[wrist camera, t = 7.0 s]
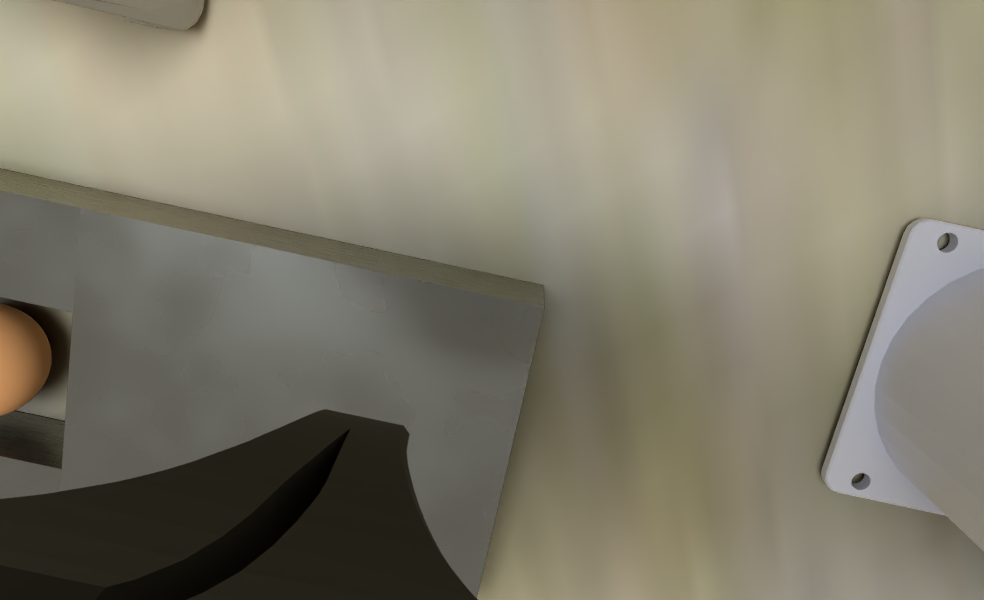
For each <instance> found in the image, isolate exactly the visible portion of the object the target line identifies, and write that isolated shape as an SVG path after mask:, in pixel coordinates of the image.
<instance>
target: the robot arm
mask: <svg viewBox="0 0 984 600" xmlns="http://www.w3.org/2000/svg"><path fill="white" fill-rule="evenodd" d="M945 233H948V234H949V236H950V242H949V244H948V245H947V247H946V248H944V249H942V250H939V248H938V247H937V242H938V239H939V238H940V236H941V235H943V234H945ZM409 435H410V434H409V433H408V431H407V429H406V428H405V426H404V425H399V424H394V423H389V422H385V421H380V420H375V419H370V418H365V417H361V416H356V415H351V414H346V413H341V412H337V411H332V410H327V409H324V410H320V411H317V412H314V413H312V414H309V415H307V416H305V417H302V418H300V419H298V420H296V421H293V422H291V423H289V424H287V425H284V426H282V427H280V428H277V429H275V430H273V431H271V432H268V433H266V434H264V435H261V436H259V437H257V438H254V439H252V440H250V441H247V442H245V443H242V444H239V445H236V446H234V447H231V448H228V449H226V450H223V451H220V452H217V453H215V454H212V455H209V456H207V457H204V458H201V459H198V460H196V461H193V462H189V463H186V464H183V465H180V466H176V467H173V468H170V469H166V470H163V471H159V472H155V473H151V474H147V475H143V476H139V477H135V478H131V479H127V480H122V481H117V482H112V483H106V484H101V485H95V486H89V487H83V488H77V489H71V490H65V491H60V492H54V493H48V494H40V495H32V496H23V497H13V498H4V499H0V600H478V599H477V598H476V597H475V596H474V595H473V594H472V593H471V592H470V591H469V590H468V588H467V587H466V586H465V585H464V584H463V582H462V581H461V580H460V578H459V577H458V576H457V575H456V573H455V572H454V571H453V570H452V568H451V567H450V565H449V564H448V562H447V561H446V559H445V558H444V556H443V555H442V553H441V551H440V549H439V547H438V546H437V544H436V542H435V540H434V538H433V536H432V534H431V532H430V530H429V528H428V526H427V524H426V521H425V519H424V516H423V514H422V511H421V509H420V506H419V503H418V501H417V497H416V494H415V491H414V487H413V483H412V480H411V476H410V472H409V466H408V460H407V446H408V441H409ZM859 473H865V474H864V478H863V480H862V481H860V482H859V483H852V479H853V477H854V476H855V475H857V474H859ZM821 476H822V479H823V481H824V482H825V484H826V485H827V486H828V487H829V488H830V489H831V490H832V491H835V492H837V493H841V494H846V495H851V496H855V497H860V498H865V499H869V500H874V501H879V502H883V503H888V504H893V505H897V506H902V507H907V508H911V509H916V510H921V511H925V512H930V513H935V514H939V515H944V516H947V517H948V518H949V519H950V520H951V521H952V522H953V523H954V524H955V525H956V526H957V527H958V528H959V529H960V530H962V531H963V532H964V533H965V534H966V535H967V536H968V537H969V538H970V539H971V540H972V541H973V542H974V543H975V544H976V545H977V546H978V547H979V548H980V549H981V550H982V551H983V552H984V230H981V229H976V228H972V227H967V226H962V225H958V224H953V223H948V222H944V221H939V220H934V219H930V218H920V219H917V220H915V221H913V222H912V223H911V224H909V225H908V226H907V228H906V230H905V231H904V233H903V236H902V239H901V242H900V245H899V248H898V251H897V254H896V256H895V259H894V262H893V265H892V268H891V271H890V274H889V277H888V280H887V282H886V285H885V288H884V291H883V294H882V297H881V300H880V303H879V305H878V308H877V311H876V314H875V317H874V320H873V323H872V326H871V329H870V331H869V334H868V337H867V340H866V343H865V346H864V349H863V352H862V354H861V357H860V360H859V363H858V366H857V369H856V372H855V375H854V378H853V380H852V383H851V386H850V389H849V392H848V395H847V398H846V401H845V403H844V406H843V409H842V412H841V415H840V418H839V421H838V424H837V427H836V429H835V432H834V435H833V438H832V441H831V444H830V447H829V450H828V453H827V455H826V458H825V461H824V464H823V467H822V472H821Z"/></svg>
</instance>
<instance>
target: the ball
mask: <svg viewBox="0 0 984 600" xmlns="http://www.w3.org/2000/svg"><path fill="white" fill-rule="evenodd" d="M51 360H52V356H51V348H50V344H49V341H48V338H47V336H46V335H45V333H44V331H43V330H42V328H41V327H40V326H39V324H38V323H37V322H36V321H34V320H33V319H32V318H31V317H30V316H28V315H27V314H25V313H24V312H22V311H20V310H18V309H16V308H13V307H11V306H8V305H4V304H0V416H1V415H5V414H7V413H10V412H12V411H15V410H16V409H18V408H20V407H22V406H23V405H25V404H26V403H28V402H29V401H30V400H31V399H32V398H33V397H34V396H35V395H36V394H37V393H38V392H39V391H40V390H41V388H42V387H43V385H44V383H45V382H46V379H47V377H48V375H49V372H50V368H51Z"/></svg>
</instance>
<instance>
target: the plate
mask: <svg viewBox="0 0 984 600" xmlns="http://www.w3.org/2000/svg"><path fill="white" fill-rule="evenodd" d="M0 297H3V298H8V299H12V300H17V301H22V302H26V303H31V304H36V305H40V306H45V307H50V308H54V309H59V310H64V311H68V312H73V320H72V333H71V347H70V361H69V375H68V389H67V403H66V417H65V422H64V421H59V420H55V419H50V418H45V417H41V416H36V415H32V414H27V413H22V412H18V411H12V412H10V413H7V414H5V415H1V416H0V499H4V498H13V497H23V496H32V495H40V494H48V493H54V492H60V491H65V490H71V489H77V488H83V487H89V486H95V485H101V484H106V483H112V482H117V481H122V480H127V479H131V478H135V477H139V476H143V475H147V474H151V473H155V472H159V471H163V470H166V469H170V468H173V467H176V466H180V465H183V464H186V463H189V462H193V461H196V460H198V459H201V458H204V457H207V456H209V455H212V454H215V453H217V452H220V451H223V450H226V449H228V448H231V447H234V446H236V445H239V444H242V443H245V442H247V441H250V440H252V439H254V438H257V437H259V436H261V435H264V434H266V433H268V432H271V431H273V430H275V429H277V428H280V427H282V426H284V425H287V424H289V423H291V422H293V421H296V420H298V419H300V418H302V417H305V416H307V415H309V414H312V413H314V412H317V411H320V410H324V409H327V410H332V411H337V412H341V413H346V414H351V415H356V416H361V417H365V418H370V419H375V420H380V421H385V422H389V423H394V424H399V425H404V426H405V428H406V429H407V431H408V433H409V434H410V435H409V441H408V446H407V460H408V466H409V472H410V476H411V480H412V483H413V487H414V491H415V494H416V497H417V501H418V503H419V506H420V509H421V511H422V514H423V516H424V519H425V521H426V524H427V526H428V528H429V530H430V532H431V534H432V536H433V538H434V540H435V542H436V544H437V546H438V547H439V549H440V551H441V553H442V555H443V556H444V558H445V559H446V561H447V562H448V564H449V565H450V567H451V568H452V570H453V571H454V572H455V573H456V575H457V576H458V577H459V578H460V580H461V581H462V582H463V584H464V585H465V586H466V587H467V588H468V590H469V591H470V592H471V593H472V594H473V595H474V596H475V597H476V598H477V595H478V590H479V586H480V582H481V577H482V573H483V569H484V565H485V560H486V556H487V552H488V547H489V543H490V539H491V535H492V530H493V526H494V522H495V517H496V513H497V509H498V505H499V500H500V496H501V492H502V487H503V483H504V479H505V474H506V470H507V466H508V462H509V457H510V453H511V449H512V444H513V440H514V436H515V432H516V427H517V423H518V419H519V414H520V410H521V406H522V402H523V397H524V393H525V389H526V384H527V380H528V376H529V371H530V367H531V363H532V359H533V354H534V350H535V346H536V341H537V337H538V333H539V329H540V324H541V320H542V316H543V311H544V293H543V285H540V284H535V283H530V282H526V281H521V280H516V279H512V278H507V277H502V276H498V275H493V274H488V273H484V272H479V271H474V270H470V269H465V268H460V267H456V266H451V265H446V264H442V263H437V262H432V261H428V260H423V259H418V258H414V257H409V256H404V255H400V254H395V253H390V252H386V251H381V250H377V249H372V248H367V247H363V246H358V245H353V244H349V243H344V242H339V241H335V240H330V239H325V238H321V237H316V236H311V235H307V234H302V233H297V232H293V231H288V230H283V229H279V228H274V227H269V226H265V225H260V224H255V223H251V222H246V221H241V220H237V219H232V218H227V217H223V216H218V215H213V214H209V213H204V212H199V211H195V210H190V209H185V208H181V207H176V206H172V205H167V204H162V203H158V202H153V201H148V200H144V199H139V198H134V197H130V196H125V195H120V194H116V193H111V192H106V191H102V190H97V189H92V188H88V187H83V186H78V185H74V184H69V183H64V182H60V181H55V180H50V179H46V178H41V177H36V176H32V175H27V174H22V173H18V172H13V171H8V170H4V169H0Z"/></svg>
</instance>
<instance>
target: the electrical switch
mask: <svg viewBox="0 0 984 600" xmlns="http://www.w3.org/2000/svg"><path fill="white" fill-rule="evenodd" d="M54 1H59V2H63V3H68V4H72V5H77V6H81V7H85V8H90V9H94V10H99V11H103V12H108V13H112V14H116V15H121V16H125V17H126V18H125V21H129V22H134V23H138V24H143V25H148V26H153V27H157V28H166V29H177V30H187V29H189V28H190V27H191V26H193V25H194V24H196V23H197V22H198V20H199V18H200V16H201V14H202V11H203V8H204V0H54Z"/></svg>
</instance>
